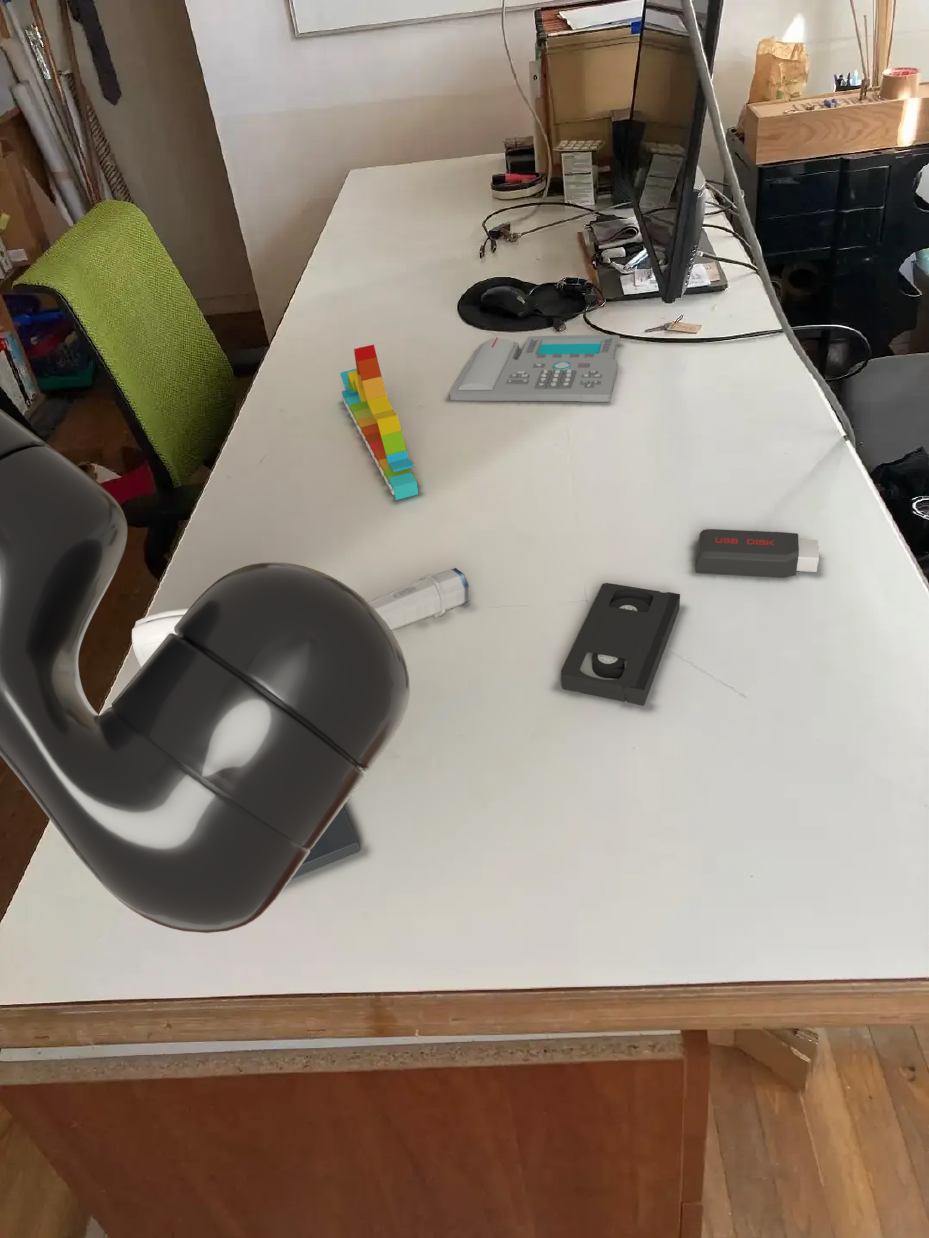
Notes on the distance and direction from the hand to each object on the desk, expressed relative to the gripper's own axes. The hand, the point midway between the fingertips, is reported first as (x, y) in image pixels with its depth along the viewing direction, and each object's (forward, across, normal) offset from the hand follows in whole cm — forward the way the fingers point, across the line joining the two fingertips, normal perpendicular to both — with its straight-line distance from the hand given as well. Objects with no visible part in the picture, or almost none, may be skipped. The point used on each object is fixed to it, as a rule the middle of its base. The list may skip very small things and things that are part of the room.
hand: (262, 752), depth 60 cm
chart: (+60, -27, -35) cm, 75 cm away
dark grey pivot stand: (+20, 0, +6) cm, 20 cm away
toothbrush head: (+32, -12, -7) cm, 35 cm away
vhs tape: (+23, -35, +2) cm, 42 cm away
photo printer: (+31, +3, -5) cm, 31 cm away
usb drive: (+27, -54, -1) cm, 60 cm away
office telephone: (+66, -56, -40) cm, 95 cm away
